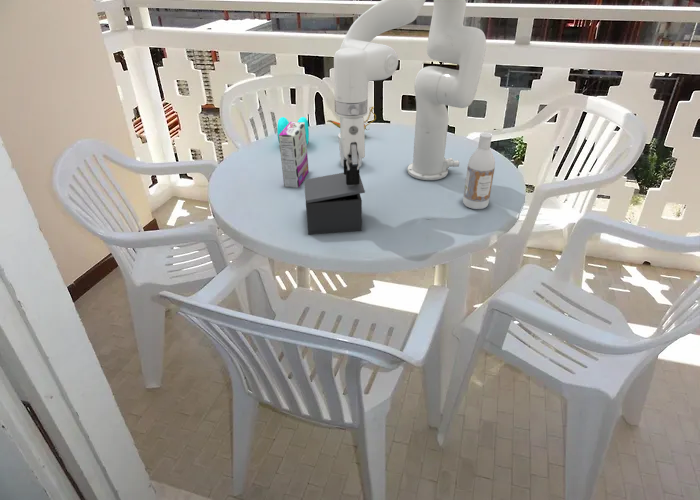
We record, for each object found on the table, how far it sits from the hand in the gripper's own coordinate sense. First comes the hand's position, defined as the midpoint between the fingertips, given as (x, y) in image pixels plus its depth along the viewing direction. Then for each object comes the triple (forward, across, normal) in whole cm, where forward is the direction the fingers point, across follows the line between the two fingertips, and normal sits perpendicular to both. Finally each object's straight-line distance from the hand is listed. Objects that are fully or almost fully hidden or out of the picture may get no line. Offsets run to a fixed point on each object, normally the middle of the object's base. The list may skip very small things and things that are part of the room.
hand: (351, 178), depth 120 cm
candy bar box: (+12, +26, +14) cm, 32 cm away
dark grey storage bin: (+12, 0, +5) cm, 13 cm away
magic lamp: (+12, +59, -7) cm, 61 cm away
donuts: (+12, +54, +14) cm, 57 cm away
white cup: (+12, +35, -4) cm, 37 cm away
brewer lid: (+2, 0, +5) cm, 5 cm away
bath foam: (+12, +4, -35) cm, 37 cm away
